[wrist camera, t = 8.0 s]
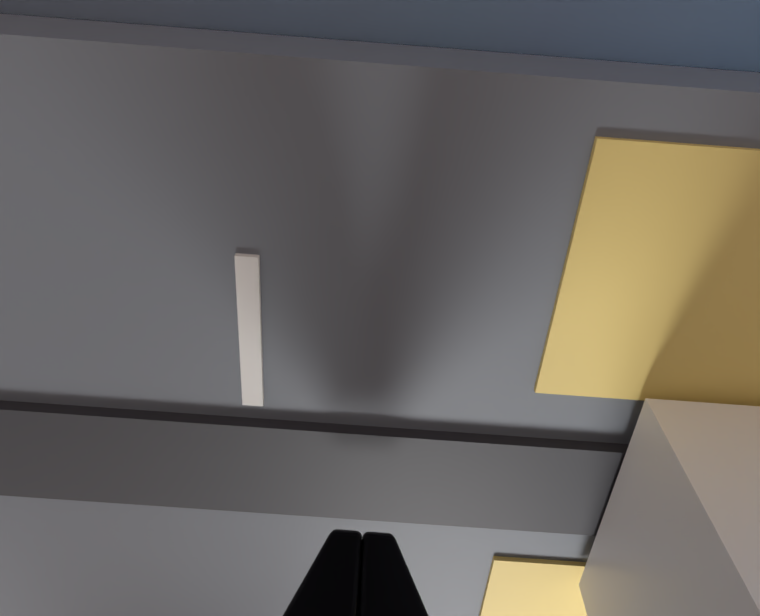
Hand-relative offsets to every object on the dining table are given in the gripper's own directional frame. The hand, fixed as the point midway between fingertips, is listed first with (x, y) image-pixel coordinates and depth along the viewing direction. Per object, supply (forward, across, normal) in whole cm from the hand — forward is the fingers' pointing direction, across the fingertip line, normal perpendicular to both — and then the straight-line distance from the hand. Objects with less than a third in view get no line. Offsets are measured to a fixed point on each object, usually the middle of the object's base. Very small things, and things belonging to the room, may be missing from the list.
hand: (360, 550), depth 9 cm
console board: (+3, +2, 0) cm, 3 cm away
